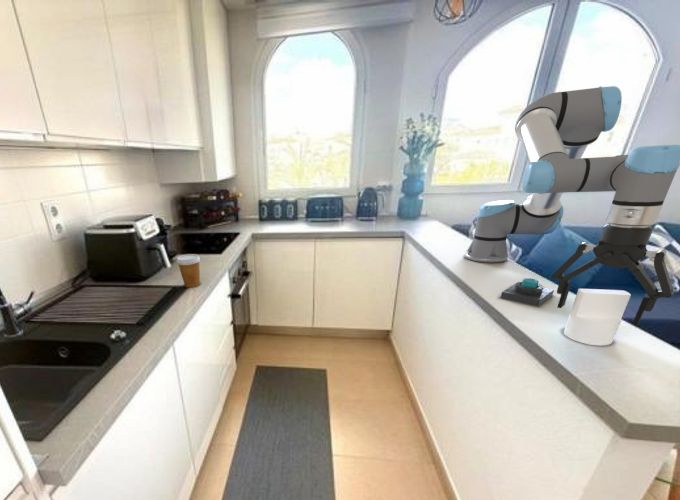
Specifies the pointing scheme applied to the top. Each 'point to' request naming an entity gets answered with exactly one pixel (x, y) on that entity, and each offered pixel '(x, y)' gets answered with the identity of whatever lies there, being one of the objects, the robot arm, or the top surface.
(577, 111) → the robot arm
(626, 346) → the top surface
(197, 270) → the disposable coffee cup
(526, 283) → the button
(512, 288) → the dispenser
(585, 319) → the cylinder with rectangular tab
